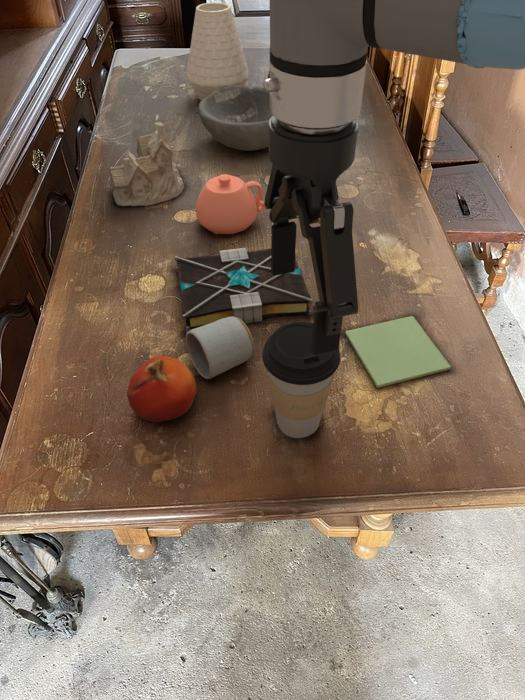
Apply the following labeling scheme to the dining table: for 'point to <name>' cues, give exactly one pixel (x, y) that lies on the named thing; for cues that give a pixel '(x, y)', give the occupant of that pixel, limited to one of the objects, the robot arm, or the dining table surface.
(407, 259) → the dining table surface
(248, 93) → the bowl
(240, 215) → the sugar bowl
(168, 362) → the tomato
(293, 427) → the coffee cup
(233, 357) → the ceramic mug
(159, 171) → the ceramic cottage
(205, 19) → the vase
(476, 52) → the robot arm
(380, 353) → the sage mat
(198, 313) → the book
